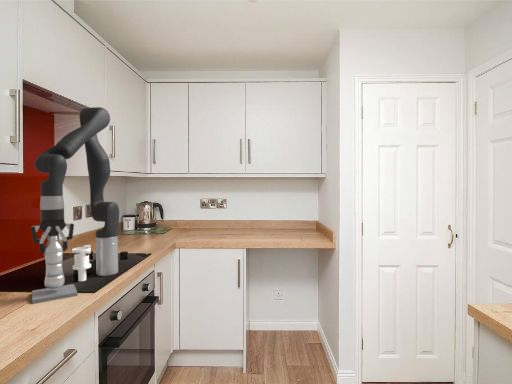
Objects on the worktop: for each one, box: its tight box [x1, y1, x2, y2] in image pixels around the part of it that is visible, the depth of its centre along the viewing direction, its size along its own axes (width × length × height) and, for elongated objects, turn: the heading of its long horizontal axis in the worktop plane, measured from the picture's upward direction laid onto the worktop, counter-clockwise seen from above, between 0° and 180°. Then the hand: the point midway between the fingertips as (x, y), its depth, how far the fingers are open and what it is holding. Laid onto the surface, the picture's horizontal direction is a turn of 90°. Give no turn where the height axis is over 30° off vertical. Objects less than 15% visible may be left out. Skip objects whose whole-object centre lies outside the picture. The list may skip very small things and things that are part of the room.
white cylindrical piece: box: [71, 244, 92, 282], centre depth 141 cm, size 7×7×15 cm
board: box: [31, 283, 78, 304], centre depth 124 cm, size 12×14×1 cm
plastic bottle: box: [43, 234, 66, 289], centre depth 123 cm, size 6×7×20 cm
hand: (53, 252), depth 123 cm, fingers closed on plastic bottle, 6 cm apart
